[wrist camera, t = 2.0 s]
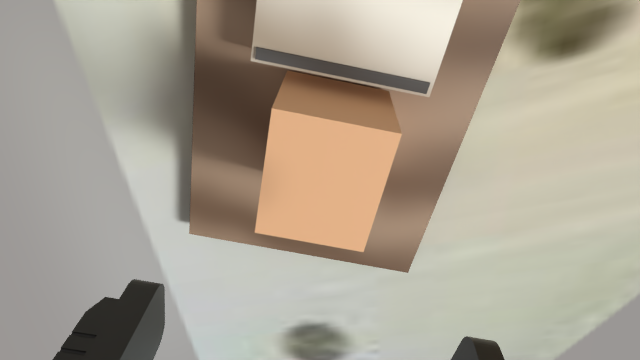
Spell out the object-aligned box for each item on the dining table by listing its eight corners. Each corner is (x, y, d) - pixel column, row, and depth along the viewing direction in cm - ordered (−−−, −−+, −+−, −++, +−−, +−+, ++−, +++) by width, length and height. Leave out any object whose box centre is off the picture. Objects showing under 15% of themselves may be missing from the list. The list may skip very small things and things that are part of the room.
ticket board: (229, -663, 11) (191, -860, 8) (717, -513, 12) (829, -648, 9) (194, 223, 26) (177, 256, 23) (405, 261, 27) (412, 297, 24)
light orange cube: (287, 70, 19) (271, 108, 15) (389, 91, 20) (401, 133, 15) (271, 176, 23) (254, 232, 18) (359, 193, 23) (363, 252, 19)
